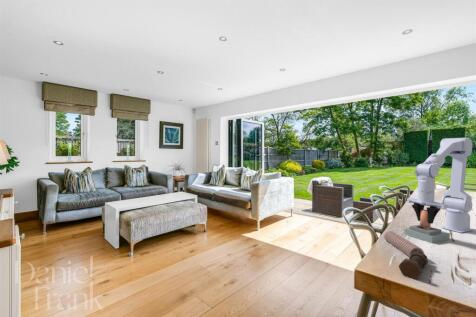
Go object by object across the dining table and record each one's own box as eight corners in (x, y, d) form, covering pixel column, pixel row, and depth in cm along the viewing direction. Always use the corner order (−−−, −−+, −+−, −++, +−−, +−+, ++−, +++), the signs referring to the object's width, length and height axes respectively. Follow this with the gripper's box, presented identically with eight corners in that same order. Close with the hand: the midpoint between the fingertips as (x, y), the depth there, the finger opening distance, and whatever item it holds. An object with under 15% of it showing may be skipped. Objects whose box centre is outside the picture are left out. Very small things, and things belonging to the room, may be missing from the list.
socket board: (421, 230, 110) (421, 222, 110) (449, 239, 100) (449, 229, 100) (404, 234, 106) (404, 225, 106) (431, 243, 95) (432, 233, 95)
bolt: (424, 268, 79) (412, 283, 69) (408, 256, 82) (395, 269, 72) (435, 256, 77) (425, 270, 67) (419, 244, 80) (406, 256, 70)
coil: (382, 230, 98) (410, 248, 80) (394, 229, 98) (424, 247, 80) (383, 241, 98) (411, 261, 81) (395, 240, 98) (425, 260, 80)
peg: (422, 224, 105) (423, 209, 104) (432, 227, 101) (432, 211, 101) (418, 225, 103) (418, 210, 103) (427, 228, 100) (428, 212, 100)
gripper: (402, 189, 107) (402, 218, 107) (439, 194, 93) (438, 228, 94) (413, 188, 109) (412, 216, 110) (450, 193, 96) (449, 226, 96)
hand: (425, 222), depth 102 cm, fingers closed on peg, 4 cm apart
